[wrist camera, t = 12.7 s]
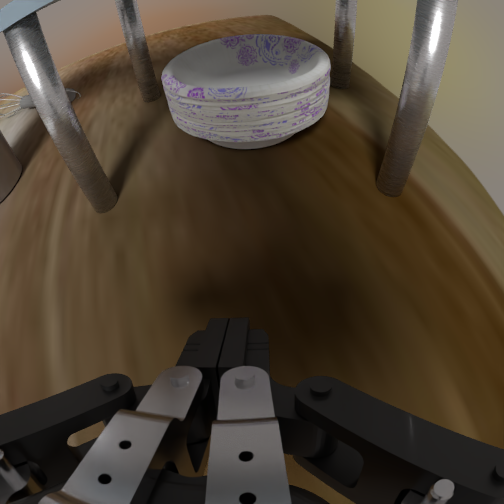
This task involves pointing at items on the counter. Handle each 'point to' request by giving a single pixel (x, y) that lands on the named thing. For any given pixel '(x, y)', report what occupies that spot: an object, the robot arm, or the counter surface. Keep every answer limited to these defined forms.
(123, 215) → the counter surface
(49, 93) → the small side table
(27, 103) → the kitchen whisk
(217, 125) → the paper bowls
